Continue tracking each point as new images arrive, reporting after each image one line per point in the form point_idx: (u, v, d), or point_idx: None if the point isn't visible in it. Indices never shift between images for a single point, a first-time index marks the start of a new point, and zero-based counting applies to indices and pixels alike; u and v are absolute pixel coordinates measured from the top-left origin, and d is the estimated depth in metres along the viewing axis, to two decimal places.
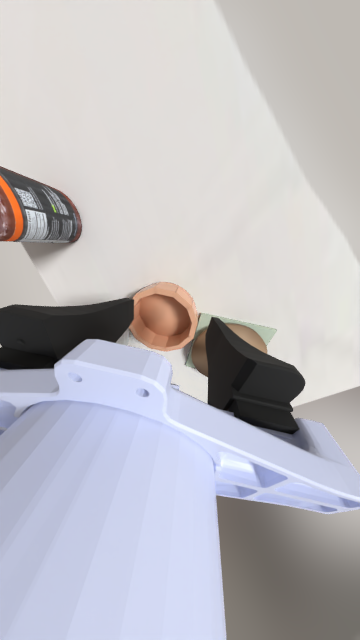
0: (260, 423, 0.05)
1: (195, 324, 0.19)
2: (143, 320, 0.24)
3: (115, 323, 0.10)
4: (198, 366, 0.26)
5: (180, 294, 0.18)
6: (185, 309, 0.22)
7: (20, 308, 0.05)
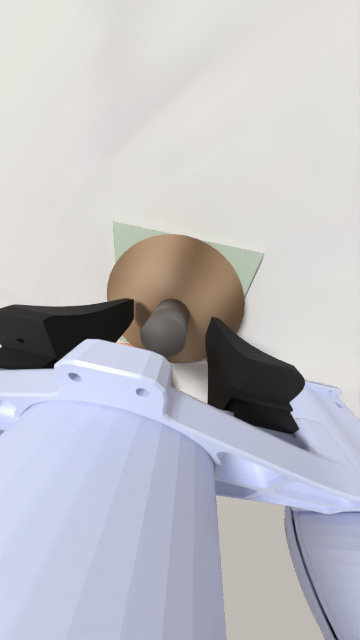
0: (260, 423, 0.05)
1: None
2: None
3: (115, 323, 0.10)
4: (200, 355, 0.15)
5: None
6: None
7: (20, 308, 0.05)
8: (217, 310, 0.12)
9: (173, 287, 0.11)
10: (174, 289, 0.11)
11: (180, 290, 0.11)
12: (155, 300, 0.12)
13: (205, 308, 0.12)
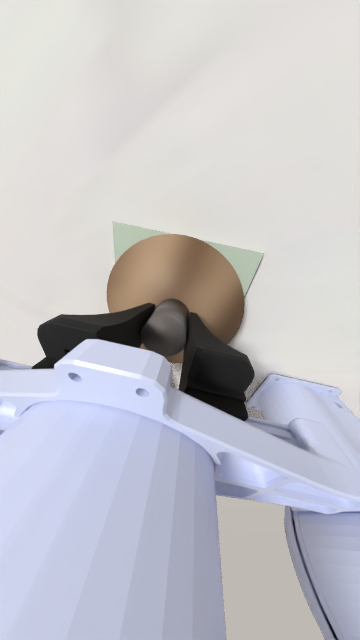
0: None
1: None
2: None
3: (141, 329, 0.10)
4: None
5: None
6: None
7: (70, 319, 0.05)
8: (217, 310, 0.12)
9: (173, 287, 0.11)
10: (174, 289, 0.11)
11: (180, 290, 0.11)
12: (155, 300, 0.12)
13: (205, 308, 0.12)
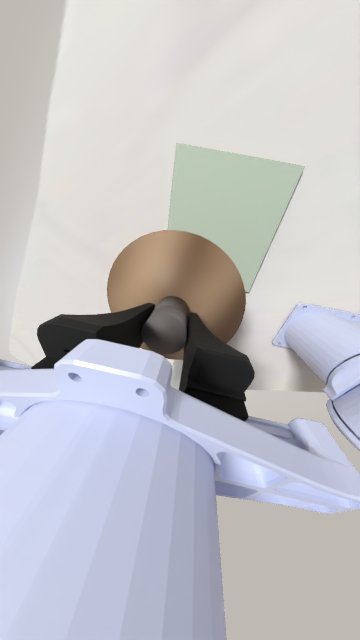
0: None
1: None
2: None
3: (141, 329, 0.10)
4: None
5: None
6: None
7: (70, 319, 0.05)
8: (218, 308, 0.12)
9: (174, 284, 0.11)
10: (175, 286, 0.11)
11: (181, 287, 0.11)
12: (156, 297, 0.12)
13: (206, 305, 0.12)
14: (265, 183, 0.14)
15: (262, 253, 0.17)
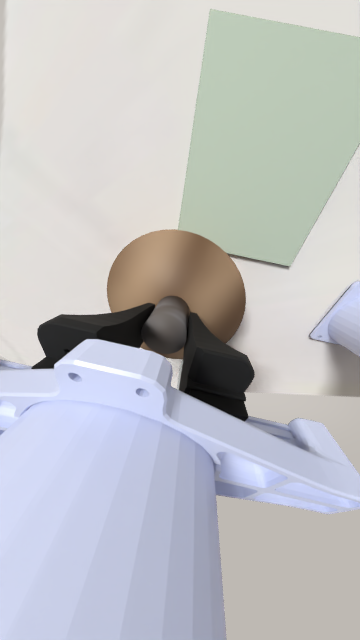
0: None
1: None
2: None
3: (141, 329, 0.10)
4: None
5: None
6: None
7: (70, 319, 0.05)
8: (218, 307, 0.12)
9: (174, 284, 0.11)
10: (175, 286, 0.11)
11: (181, 287, 0.11)
12: (156, 297, 0.12)
13: (206, 305, 0.12)
14: (342, 85, 0.09)
15: (318, 207, 0.12)
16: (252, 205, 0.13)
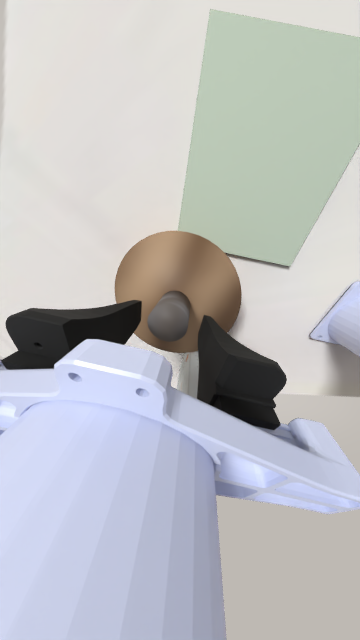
0: (242, 419, 0.05)
1: None
2: None
3: (124, 325, 0.10)
4: None
5: None
6: None
7: (38, 312, 0.05)
8: (216, 301, 0.13)
9: (176, 280, 0.12)
10: (177, 281, 0.13)
11: (183, 282, 0.12)
12: (159, 292, 0.13)
13: (205, 299, 0.13)
14: (342, 85, 0.09)
15: (318, 207, 0.12)
16: (252, 205, 0.13)
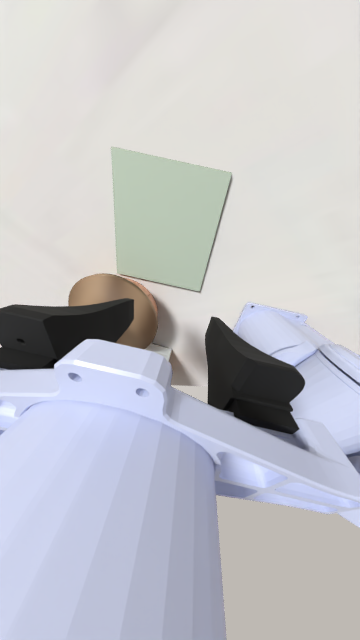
0: (260, 423, 0.05)
1: None
2: None
3: (115, 323, 0.10)
4: None
5: None
6: None
7: (20, 308, 0.05)
8: (139, 319, 0.19)
9: None
10: None
11: None
12: None
13: None
14: (198, 188, 0.15)
15: (206, 254, 0.18)
16: (163, 251, 0.18)
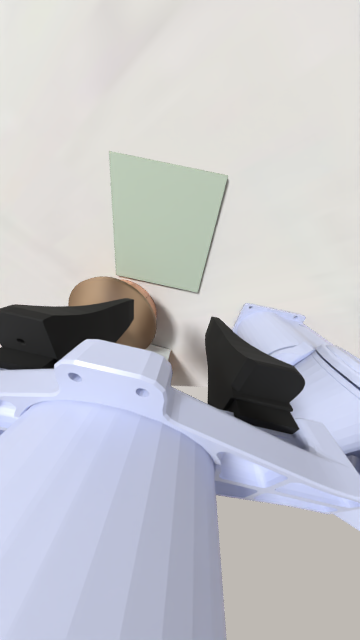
0: (260, 423, 0.05)
1: None
2: None
3: (115, 323, 0.10)
4: None
5: None
6: None
7: (20, 308, 0.05)
8: (138, 321, 0.19)
9: None
10: None
11: None
12: None
13: None
14: (195, 190, 0.15)
15: (204, 256, 0.18)
16: (161, 253, 0.18)
